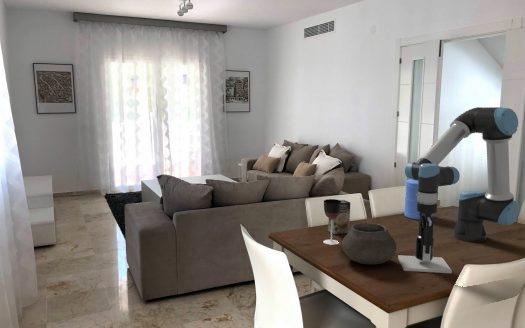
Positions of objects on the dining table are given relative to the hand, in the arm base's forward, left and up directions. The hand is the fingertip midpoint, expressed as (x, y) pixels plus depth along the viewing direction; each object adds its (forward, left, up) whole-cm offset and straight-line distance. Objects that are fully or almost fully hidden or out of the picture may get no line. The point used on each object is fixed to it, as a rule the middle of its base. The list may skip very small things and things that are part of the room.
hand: (424, 257), depth 173 cm
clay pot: (+22, -1, -4) cm, 22 cm away
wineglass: (+37, -24, -4) cm, 44 cm away
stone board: (0, 0, -3) cm, 3 cm away
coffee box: (+33, -41, -4) cm, 53 cm away
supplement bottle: (0, 0, -1) cm, 1 cm away
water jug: (-14, -78, -4) cm, 79 cm away
